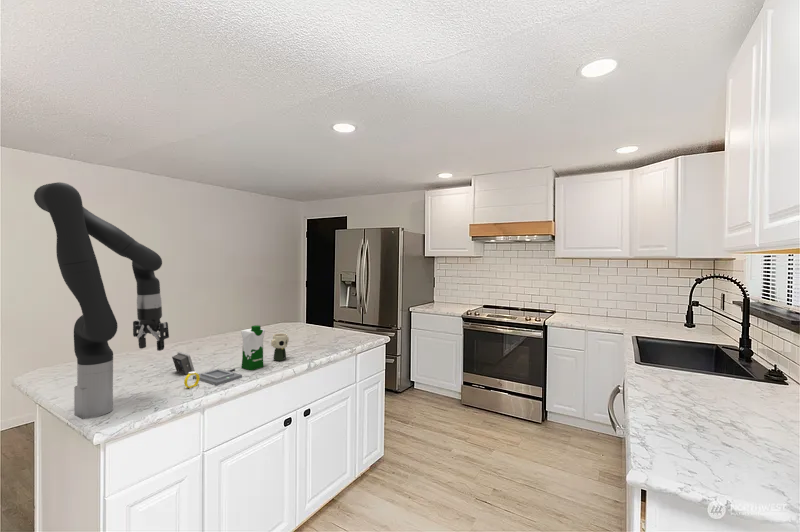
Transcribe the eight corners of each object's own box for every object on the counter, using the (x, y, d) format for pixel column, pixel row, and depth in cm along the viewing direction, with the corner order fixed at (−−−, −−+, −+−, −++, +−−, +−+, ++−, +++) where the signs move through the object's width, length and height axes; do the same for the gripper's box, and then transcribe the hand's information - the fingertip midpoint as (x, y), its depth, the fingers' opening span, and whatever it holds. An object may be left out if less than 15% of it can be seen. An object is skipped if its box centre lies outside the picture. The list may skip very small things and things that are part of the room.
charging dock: (216, 385, 150) (216, 380, 150) (193, 378, 158) (193, 373, 158) (251, 374, 165) (251, 370, 165) (228, 368, 173) (228, 364, 173)
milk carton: (250, 371, 169) (251, 328, 169) (238, 368, 174) (238, 325, 173) (266, 366, 177) (267, 325, 176) (254, 363, 181) (254, 323, 181)
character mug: (276, 363, 182) (276, 337, 182) (266, 361, 186) (266, 335, 185) (292, 358, 192) (293, 333, 191) (283, 356, 195) (283, 332, 195)
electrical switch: (195, 373, 165) (193, 353, 164) (183, 377, 160) (181, 357, 159) (184, 369, 170) (182, 350, 169) (172, 373, 165) (170, 353, 164)
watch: (195, 384, 152) (196, 370, 152) (200, 385, 151) (201, 371, 151) (182, 388, 146) (183, 373, 146) (187, 389, 145) (188, 374, 145)
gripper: (124, 306, 134) (127, 350, 135) (155, 309, 130) (157, 354, 131) (144, 303, 141) (146, 344, 142) (173, 305, 137) (175, 347, 139)
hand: (151, 349), depth 137 cm, fingers open, 8 cm apart
